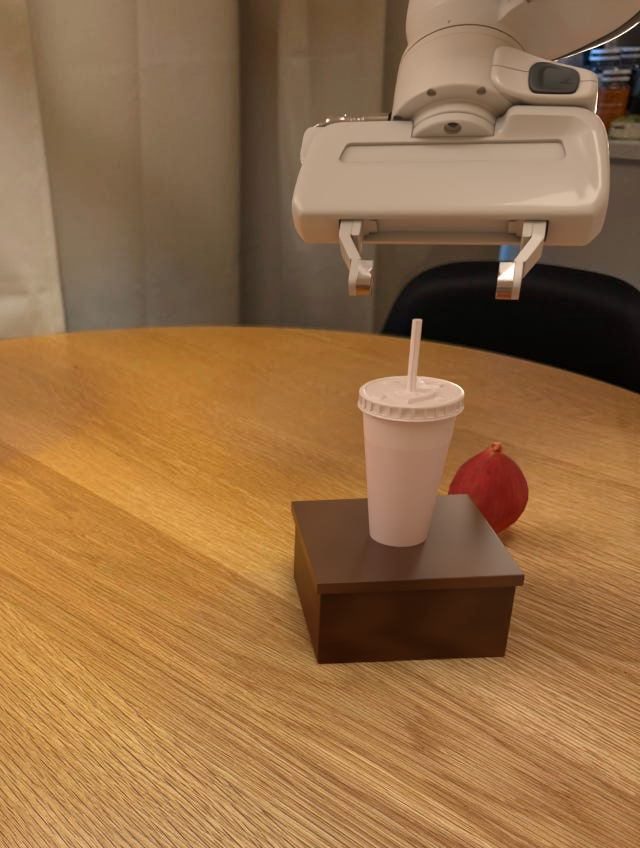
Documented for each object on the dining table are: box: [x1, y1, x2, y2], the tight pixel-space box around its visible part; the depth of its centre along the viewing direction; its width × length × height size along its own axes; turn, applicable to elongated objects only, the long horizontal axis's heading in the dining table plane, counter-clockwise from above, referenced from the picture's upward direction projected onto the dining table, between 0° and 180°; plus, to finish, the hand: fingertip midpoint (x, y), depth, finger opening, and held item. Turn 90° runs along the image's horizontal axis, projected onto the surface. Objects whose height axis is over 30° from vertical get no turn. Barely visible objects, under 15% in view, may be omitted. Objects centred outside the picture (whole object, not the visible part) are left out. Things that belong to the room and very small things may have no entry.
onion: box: [447, 441, 530, 535], centre depth 77 cm, size 6×6×8 cm
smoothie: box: [357, 318, 466, 547], centre depth 63 cm, size 6×6×14 cm
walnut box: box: [290, 494, 526, 664], centre depth 68 cm, size 13×13×6 cm
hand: (432, 292), depth 66 cm, fingers open, 8 cm apart
